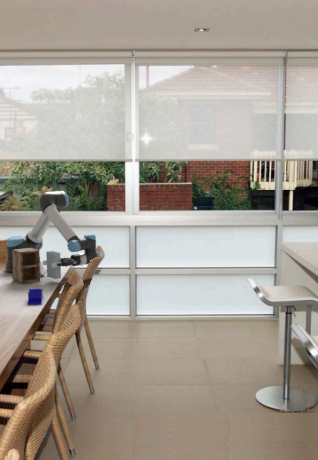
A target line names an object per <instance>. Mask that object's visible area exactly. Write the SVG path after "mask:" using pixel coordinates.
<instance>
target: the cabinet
mask: <svg viewBox="0 0 318 460" xmlns="http://www.w3.org/2000/svg"><path fill="white" fill-rule="evenodd" d="M40 262H41V256H40V250H38V249H33V248H23V249H15V250H12V272H11V273H12V282H15V283H17V284H21V285H23V284H31V283H36V282H41V277H42V276H41V274H40Z"/></svg>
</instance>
